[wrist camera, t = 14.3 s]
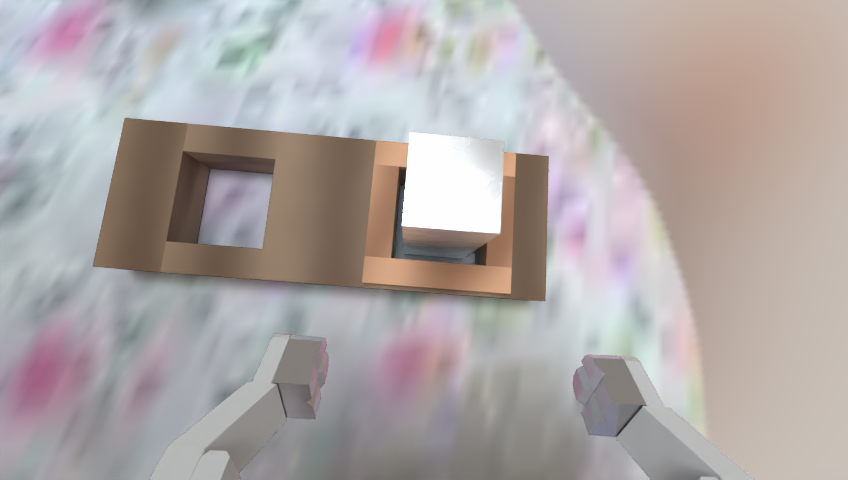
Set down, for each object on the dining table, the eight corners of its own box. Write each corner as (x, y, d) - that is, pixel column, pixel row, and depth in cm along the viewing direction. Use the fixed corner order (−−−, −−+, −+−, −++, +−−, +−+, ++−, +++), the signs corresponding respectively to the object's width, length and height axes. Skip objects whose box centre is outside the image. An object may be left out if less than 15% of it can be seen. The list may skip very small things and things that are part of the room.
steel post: (404, 253, 24) (401, 225, 14) (408, 196, 25) (410, 132, 15) (462, 258, 24) (500, 233, 15) (466, 201, 25) (504, 140, 15)
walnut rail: (132, 270, 23) (83, 265, 20) (158, 139, 25) (116, 112, 21) (528, 300, 24) (549, 301, 21) (532, 172, 26) (552, 152, 22)
